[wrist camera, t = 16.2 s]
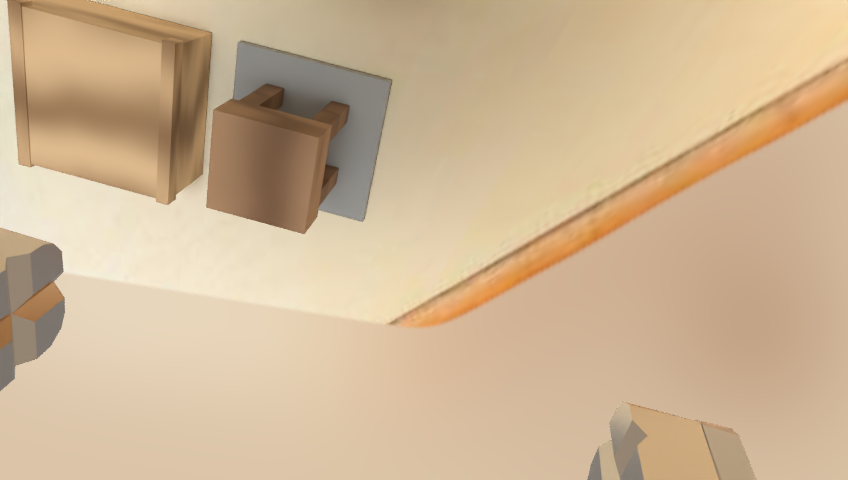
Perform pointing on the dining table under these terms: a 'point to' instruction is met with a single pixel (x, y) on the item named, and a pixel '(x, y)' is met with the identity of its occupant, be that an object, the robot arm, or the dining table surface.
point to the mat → (308, 95)
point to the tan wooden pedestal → (109, 94)
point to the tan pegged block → (272, 159)
